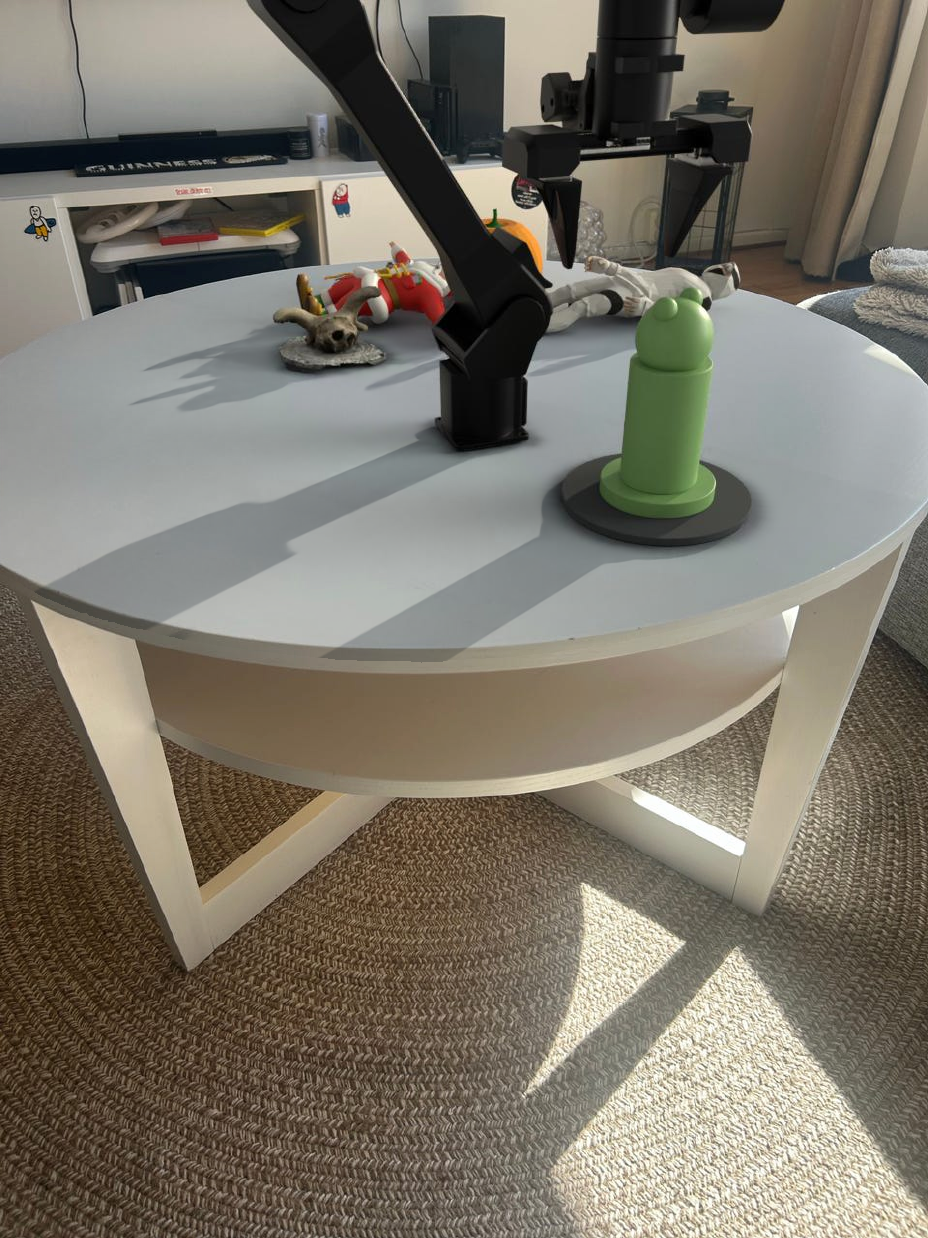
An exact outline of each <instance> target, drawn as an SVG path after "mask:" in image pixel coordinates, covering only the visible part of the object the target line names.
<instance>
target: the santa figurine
mask: <svg viewBox="0 0 928 1238" xmlns="http://www.w3.org/2000/svg"><path fill="white" fill-rule="evenodd" d="M388 245H389V246H390V248H391V249H390V254H391V259H392V260H393V262H394V266H393V268H391V269H389V268H386V267H384V268H383V267H382V268H377V269H371V268H367V267H366V266H365V267H364V266H362V265H361V266H360V265H359V266H358V265H357V266H355V267H353V269H352V272H342V273H340V274H339V273H338V274H336V275H328V276H324V277H323V279H324V280H331V279H334V281H335V282H334V283H333V284H332V285H331V287H329V289H327V288H324V289H321V290H320V291H319V294H315V295H313V294H312V292H313V291H314V290H313V289H314V288H313V287H312V286H309V284H310V279H309V277H308V276H307V275H306V274H304V273H299V274H297V275H296V280H295V286H296V291H297V295H298V301H299V305H300V309H302V310H305V311H307V312H309V313H311V314H313V315H315V316H323V315H328V314H331V313H334V312H336V311H338V310H340V309H341V308H342V307H343V306H344V304H345V302H346V300H347V299H348V297H349V296H350V295H351V294H352V293H354V292H355V291H357V290H359V289H361V288H363V287H367V286H376V287H377V288H379V289H381V292H382V294H381V296H379V297H376V298H371V299H369V300H367V301H366V302H365V303H364V304H363V306H362V307H361V309H360V310H359V313H358V315H357V318H360V317H367V318H368V317H369V318H370V320H371V321H372V322H373V323H375V324H376V325H379V324H383V323H385V322H386V321H388V319H389V317H390V316H391V315H392V314H393V313H394V312H395V311H399V310H402V311H405V312H416V313H421V314H425V315H426V317H427V319H429V321H430V322H431V324H432V326H433V325H434V323H435V322H436V321H437V320H438V319H439V317H440V316H441V315H442V314H443V313H444V312H445V310H446V309H445V306H444V299H443V298H444V297H446V298H453V295H452V293H451V291H450V289H449V286H448V284H447V282H446V278H445V275H444V271H443V268H442V265H441V261H440V260H439V261H438V263H431V262H426V261H424V260H415V261H414V260H413V259H412V258H410V257H409V254H408V252H407V250H406V249H405V248H404V247H403V246H401V245H398V244H397V243H396V242H394V241H391V242H389V243H388Z"/></svg>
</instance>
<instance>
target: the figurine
mask: <svg viewBox="0 0 928 1238" xmlns="http://www.w3.org/2000/svg"><path fill="white" fill-rule="evenodd" d="M666 266H667V267H665V268H662V269H657V270H653V271H642V273H639V272H636V271H634V270H631V269H629V268H627V267H625V266H622V265H621V264H620V263H619V262H613V261H609V260H608V259H606V258H604V257H600V256H597V255H590V256H588V257H587V258H586V260H585V261H584V267H583V268H584V273H588V272H590V273H594V274H598V275H602V274H604V276H595V277H591V278H587V279H582V280H579V281H577V282H576V281H575V282H574V283H566V284H565V286H561V287H559V288H557V289H556V290H554V291H552V292H547V293H548V294H549V297H550V299H551V302H552V306H553V309H555V308H558V307H560V306H561V305H564V304H567V305H568V306H567V308H564V309H562V310H559V311H557V312H553V314H552V315H551V319H550V323H549V327H548V328H547V330H546V332H545V334H546V333H547V334H549V333H558V332H561V331H564V330H566V329H567V328H568V327H570V326H571V325H572V324H573V323H575V321H577V320H579V319H581V318H583V319H587V318H591V317H599V316H615V317H616V316H617V317H623V318H635V317H642V316H643V314H644V313H645V312H646V311H647V310H648V309H649V308H650V307H651V306H652V305H654V304H655V302H656V301H657V300H658V299H660V298H662V297H670V298H671V297H679V295H680V293H681V292H682V291H683V290H684V289H686V288H688V287H694V288H697V289H699V290H700V292H701V293H702V296H703V302H702V305H701V306H702V307H703V308H704V309H705V310H706V312H707V313H708V312H709V311H710V310H712V306H713V302H714V301H718V300H722V299H726V298H728V297H729V296H731V295H733V294H734V293H735V292H736V291H738V288H739V286H740V282H741V277H740V272H739V268H738V266H737V264H736V262H735V261H730V262H725V263H721V264H714V265H711V266H708V267H706V269H704V271H703V272H701V271H699V270H698V269H696V268H694V267H691V266H680V265H671V264H666ZM688 270H689V271H688ZM690 271H691V272H690ZM692 272H694V273H697V274H698V275H699V276H698V275H696V274H694V273H692Z"/></svg>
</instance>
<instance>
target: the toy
mask: <svg viewBox="0 0 928 1238" xmlns="http://www.w3.org/2000/svg"><path fill="white" fill-rule="evenodd" d="M702 302H703V296H702V293H701V292H700V290H699V289H697V288H694V287H688V288H686V289H684V290H683V291H682V292H681V293H680V295H679V297H671V298H670V297H662V298H660V299H658V300H657V301H656V302H655V304H654V305H652V306H651V307H650V308H649V309H648V310H647V311H646V312H645V313H644V314H643V316H640V317H641V318H640V319H639V321H638V324H637V326H636V329H635V336H634V344H635V345H634V346H635V349H636V352H635V353H634V354H632V356H631V357H630V358H629V369H628V378H627V389H626V400H625V401H626V402H625V410H624V411H625V413H624V422H623V433H622V442H621V443H622V445H621V453H622V454H621V453H620V454H621V458H618V459H616V460H613V461H611V462H610V463H608V464H607V465H606V466H605V467H604V468H603V469H602V472H601V476H600V488H599V489H600V493H601V495H602V497H603V498H604V500H605V501H606V502H607V503H609V504H610V505H612V506H613V507H615V508H617V509H619V510H621V511H624V512H626V513H629V514H633V515H637V516H642V517H648V518H658V519H670V518H681V517H686V516H691V515H694V514H697V513H699V512H701V511H703V510H705V509H706V508H708V507H709V506H710V504H711V503H712V501H713V499H714V493H715V487H716V480H715V478H714V476H713V474H712V473H711V472H710V471H709V470H708V469H707V468H705V467H704V466H702V465H700V464H699V460H701V453H702V446H703V439H704V432H705V426H706V425H705V424H706V418H707V410H708V404H709V397H710V389H711V383H712V377H713V376H712V375H713V369H714V362H713V360H712V359H711V358H710V357H709V355H710V353H711V351H712V348H713V344H714V342H715V341H714V340H715V339H714V338H715V329H714V323H713V320H712V319H711V316H710V315H709V313H708V311H707V312H706V310H705V309H704V308H703V307H702V306H701V305H702Z"/></svg>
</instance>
